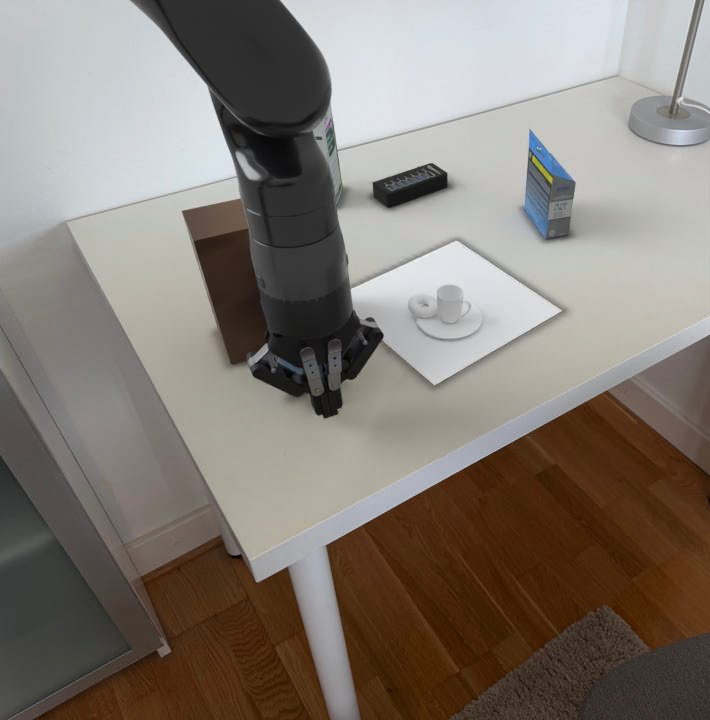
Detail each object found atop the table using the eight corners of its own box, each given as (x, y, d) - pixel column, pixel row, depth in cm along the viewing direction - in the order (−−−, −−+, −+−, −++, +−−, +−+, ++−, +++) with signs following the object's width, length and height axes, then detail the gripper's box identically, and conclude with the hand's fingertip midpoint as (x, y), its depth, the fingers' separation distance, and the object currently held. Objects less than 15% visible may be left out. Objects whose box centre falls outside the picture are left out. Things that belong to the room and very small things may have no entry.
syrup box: (336, 208, 100) (323, 111, 90) (296, 207, 100) (278, 109, 90) (343, 189, 104) (331, 93, 94) (304, 187, 104) (288, 92, 94)
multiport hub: (372, 196, 103) (371, 182, 101) (432, 175, 108) (431, 161, 106) (388, 208, 100) (387, 194, 99) (448, 186, 105) (448, 173, 104)
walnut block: (230, 364, 75) (193, 240, 65) (218, 332, 79) (181, 210, 68) (351, 328, 80) (336, 208, 70) (335, 300, 84) (317, 181, 73)
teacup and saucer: (398, 313, 83) (396, 286, 80) (449, 288, 87) (449, 261, 84) (444, 351, 78) (444, 323, 75) (496, 322, 82) (498, 295, 79)
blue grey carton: (570, 236, 96) (581, 153, 88) (544, 240, 95) (553, 157, 87) (546, 204, 102) (554, 124, 94) (522, 208, 101) (528, 127, 93)
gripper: (361, 230, 62) (376, 368, 74) (211, 266, 57) (253, 407, 69) (393, 274, 57) (403, 415, 69) (232, 317, 53) (272, 460, 64)
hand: (328, 411), depth 69 cm, fingers closed
